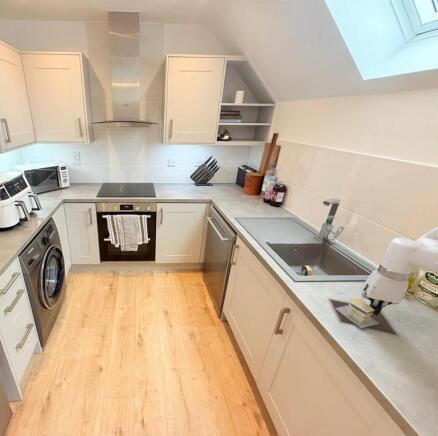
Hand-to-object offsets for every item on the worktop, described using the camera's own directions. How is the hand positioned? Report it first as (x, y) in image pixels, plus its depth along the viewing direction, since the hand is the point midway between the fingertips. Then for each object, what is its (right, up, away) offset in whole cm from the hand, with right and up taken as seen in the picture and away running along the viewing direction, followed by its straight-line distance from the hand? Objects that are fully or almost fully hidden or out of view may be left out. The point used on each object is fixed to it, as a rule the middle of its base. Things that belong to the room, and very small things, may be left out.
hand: (372, 312), depth 89 cm
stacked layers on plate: (-5, -2, +2) cm, 6 cm away
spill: (-3, -2, +2) cm, 4 cm away
